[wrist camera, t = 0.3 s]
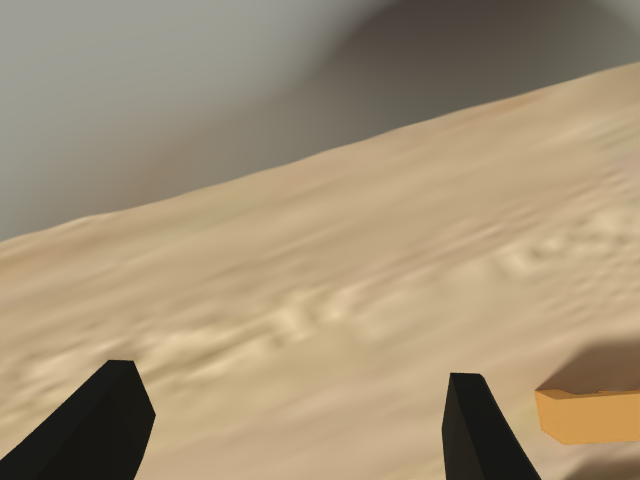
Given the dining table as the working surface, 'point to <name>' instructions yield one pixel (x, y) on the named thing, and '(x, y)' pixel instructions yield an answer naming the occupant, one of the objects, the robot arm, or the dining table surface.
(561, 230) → the dining table surface
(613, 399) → the notched orange plank
